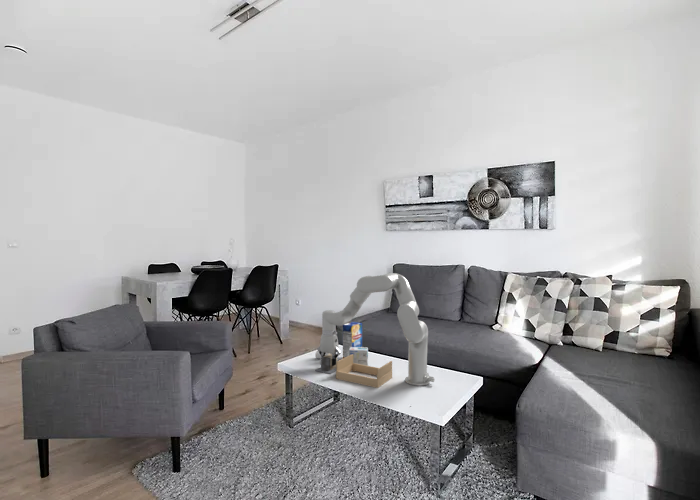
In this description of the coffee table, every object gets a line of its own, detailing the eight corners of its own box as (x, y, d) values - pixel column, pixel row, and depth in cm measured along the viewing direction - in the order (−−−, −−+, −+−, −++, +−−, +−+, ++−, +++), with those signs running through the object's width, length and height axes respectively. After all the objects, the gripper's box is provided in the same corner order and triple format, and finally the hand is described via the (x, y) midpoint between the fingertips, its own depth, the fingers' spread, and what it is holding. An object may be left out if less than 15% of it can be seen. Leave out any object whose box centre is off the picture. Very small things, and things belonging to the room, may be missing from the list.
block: (337, 367, 227) (337, 354, 227) (328, 371, 219) (328, 358, 219) (329, 365, 230) (329, 353, 230) (320, 369, 222) (320, 357, 222)
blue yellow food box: (342, 360, 241) (342, 324, 240) (353, 356, 250) (353, 321, 249) (351, 362, 237) (351, 326, 236) (362, 358, 246) (362, 323, 245)
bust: (316, 363, 242) (322, 351, 236) (311, 353, 246) (317, 342, 241) (332, 360, 249) (339, 348, 244) (326, 350, 254) (333, 339, 248)
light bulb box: (368, 365, 233) (368, 347, 232) (367, 369, 226) (367, 350, 226) (350, 364, 234) (350, 346, 233) (348, 368, 227) (348, 349, 227)
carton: (392, 377, 211) (392, 361, 211) (378, 387, 197) (378, 369, 197) (352, 369, 224) (352, 354, 224) (336, 378, 210) (336, 361, 210)
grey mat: (341, 368, 227) (341, 366, 227) (330, 374, 217) (330, 372, 217) (327, 365, 232) (327, 364, 232) (315, 370, 222) (315, 369, 222)
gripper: (345, 333, 223) (345, 364, 223) (320, 329, 232) (320, 360, 232) (338, 336, 216) (338, 368, 217) (312, 332, 225) (312, 363, 226)
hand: (328, 363), depth 225 cm, fingers open, 6 cm apart
